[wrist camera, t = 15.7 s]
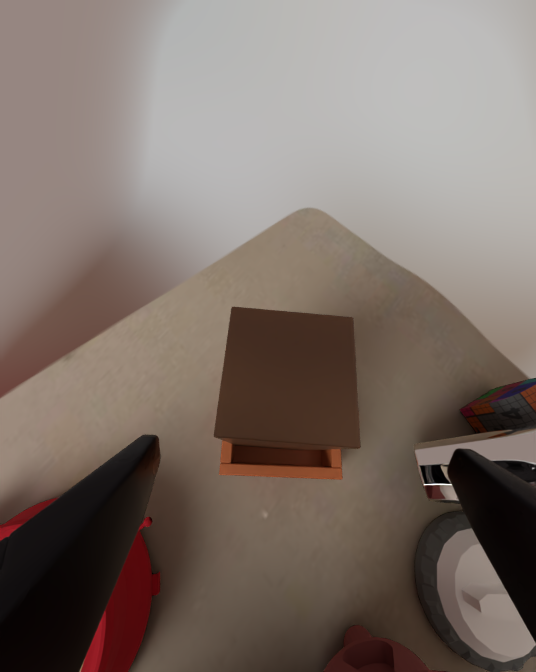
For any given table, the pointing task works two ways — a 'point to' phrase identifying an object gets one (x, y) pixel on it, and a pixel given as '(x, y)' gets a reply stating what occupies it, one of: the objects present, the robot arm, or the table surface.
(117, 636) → the alarm clock
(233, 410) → the brown rectangular block
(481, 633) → the stove knob
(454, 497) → the milkshake
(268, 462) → the socket pad
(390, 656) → the mechanical component
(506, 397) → the numbered block arch
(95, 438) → the table surface
